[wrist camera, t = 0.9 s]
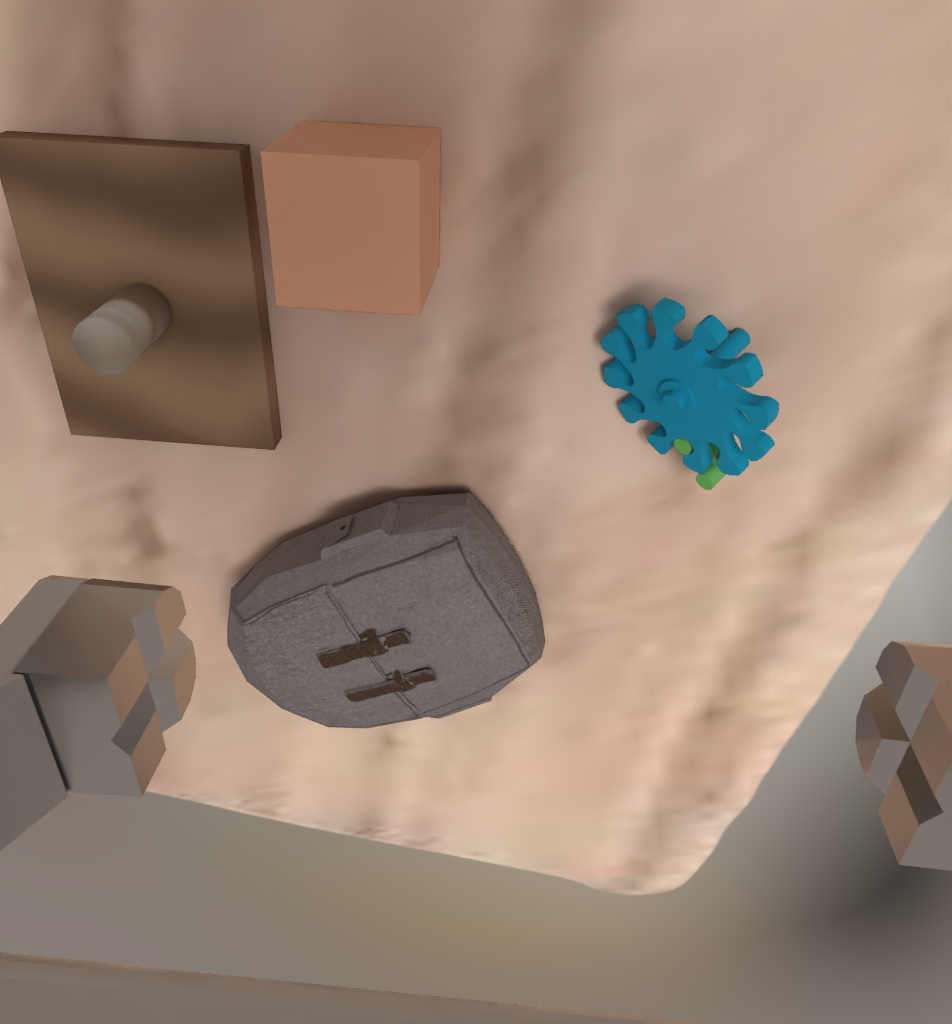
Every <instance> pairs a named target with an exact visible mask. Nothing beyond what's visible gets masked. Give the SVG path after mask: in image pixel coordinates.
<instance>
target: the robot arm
mask: <svg viewBox="0 0 952 1024" xmlns="http://www.w3.org/2000/svg"><path fill="white" fill-rule="evenodd" d="M185 615H186V610H185V606H184V603H183V599H182V595H181V592H180V591H179V590H177V589H176V588H174V587H172V586H163V585H153V584H143V583H132V582H122V581H112V580H102V579H85V578H74V577H64V576H54V575H51V576H48V577H46V578H43V579H41V580H39V581H38V582H37V583H36V584H35V585H34V586H33V588H32V589H31V590H30V591H29V592H28V593H27V595H26V596H25V597H24V598H23V599H22V600H21V602H20V603H19V604H18V605H17V606H16V607H15V608H14V610H13V611H12V612H11V613H10V614H9V615H8V617H7V618H6V619H5V620H4V621H3V622H2V624H1V625H0V851H1V850H2V849H3V848H5V847H6V846H7V845H8V844H10V843H11V842H12V841H13V840H14V839H16V838H17V837H18V836H19V835H21V834H22V833H23V832H24V831H26V830H27V829H28V828H29V827H31V826H32V825H33V824H34V823H36V822H37V821H38V820H39V819H41V818H42V817H43V816H44V815H46V814H47V813H48V812H49V811H50V810H52V809H53V808H54V807H55V806H57V805H58V804H59V803H60V802H62V801H63V800H64V799H65V798H67V797H68V793H67V792H75V793H76V792H77V793H92V794H93V793H94V794H108V795H125V796H141V797H142V796H143V794H144V792H145V790H146V788H147V786H148V784H149V782H150V780H151V778H152V776H153V774H154V773H155V771H156V769H157V767H158V765H159V763H160V761H161V759H162V757H163V755H164V753H165V751H166V747H165V743H164V739H163V735H162V732H164V731H165V730H167V729H168V728H170V727H171V726H173V725H174V724H176V723H177V722H179V721H180V720H181V719H182V717H183V715H184V713H185V711H186V709H187V706H188V704H189V702H190V700H191V695H192V691H193V686H194V682H195V678H196V657H195V652H194V647H193V642H192V641H191V640H190V639H189V638H188V637H187V636H186V635H185V634H184V633H183V632H182V631H180V630H179V629H178V628H179V626H180V624H181V622H182V621H183V619H184V617H185ZM876 669H877V671H878V673H879V675H880V677H881V680H882V682H883V683H882V684H881V685H879V686H878V687H876V688H875V689H873V690H872V691H870V692H869V693H867V694H866V695H864V698H863V701H862V703H861V706H860V709H859V712H858V715H857V722H856V746H857V752H858V757H859V760H860V764H861V766H862V769H863V772H864V775H865V777H866V778H867V779H868V780H869V781H870V782H871V783H872V784H874V785H875V786H876V787H877V788H878V789H880V790H881V791H882V792H883V793H884V794H885V795H886V796H885V798H884V800H883V803H882V804H881V807H880V809H879V811H878V812H879V814H880V817H881V819H882V822H883V824H884V827H885V829H886V832H887V835H888V837H889V840H890V842H891V845H892V847H893V850H894V853H895V855H896V858H897V860H898V863H899V865H907V866H916V867H924V868H933V869H942V870H950V871H952V645H941V644H926V643H912V642H911V643H910V642H897V641H892V642H890V643H889V644H888V645H887V647H886V648H885V649H884V650H883V651H882V654H881V656H880V658H879V661H878V663H877V665H876ZM0 1024H708V1023H697V1022H687V1021H678V1020H667V1019H658V1018H648V1017H637V1016H628V1015H618V1014H608V1013H598V1012H587V1011H578V1010H568V1009H558V1008H548V1007H538V1006H528V1005H518V1004H508V1003H498V1002H489V1001H479V1000H469V999H458V998H448V997H439V996H429V995H418V994H409V993H399V992H389V991H379V990H369V989H359V988H350V987H340V986H329V985H320V984H309V983H299V982H290V981H279V980H270V979H260V978H250V977H241V976H231V975H220V974H210V973H200V972H190V971H181V970H171V969H162V968H161V969H160V968H151V967H141V966H131V965H121V964H112V963H102V962H92V961H82V960H73V959H63V958H53V957H43V956H33V955H23V954H12V953H2V952H0Z"/></svg>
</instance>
